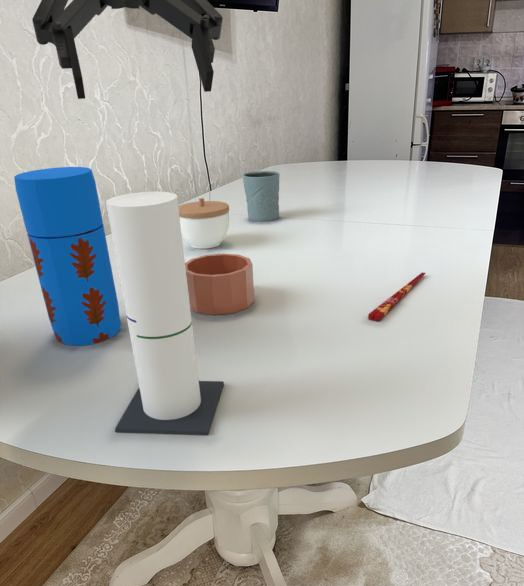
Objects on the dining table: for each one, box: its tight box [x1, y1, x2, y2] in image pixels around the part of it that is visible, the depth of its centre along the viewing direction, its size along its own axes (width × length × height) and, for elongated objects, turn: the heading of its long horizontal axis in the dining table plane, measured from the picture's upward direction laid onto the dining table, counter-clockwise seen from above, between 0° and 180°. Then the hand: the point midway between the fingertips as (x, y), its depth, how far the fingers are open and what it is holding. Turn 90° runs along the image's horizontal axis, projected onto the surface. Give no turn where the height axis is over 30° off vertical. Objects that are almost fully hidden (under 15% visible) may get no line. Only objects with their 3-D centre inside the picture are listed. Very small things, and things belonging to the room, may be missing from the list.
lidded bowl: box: [178, 197, 230, 250], centre depth 125 cm, size 13×13×11 cm
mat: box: [114, 380, 225, 436], centre depth 65 cm, size 11×11×1 cm
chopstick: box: [367, 271, 426, 322], centre depth 94 cm, size 2×24×1 cm, turn 146°
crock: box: [185, 253, 255, 316], centre depth 93 cm, size 12×12×7 cm
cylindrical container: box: [105, 191, 201, 420], centre depth 59 cm, size 7×7×25 cm
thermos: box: [13, 166, 122, 347], centre depth 80 cm, size 11×11×25 cm
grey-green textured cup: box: [242, 170, 280, 223], centre depth 145 cm, size 10×10×12 cm
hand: (146, 85), depth 56 cm, fingers open, 13 cm apart
